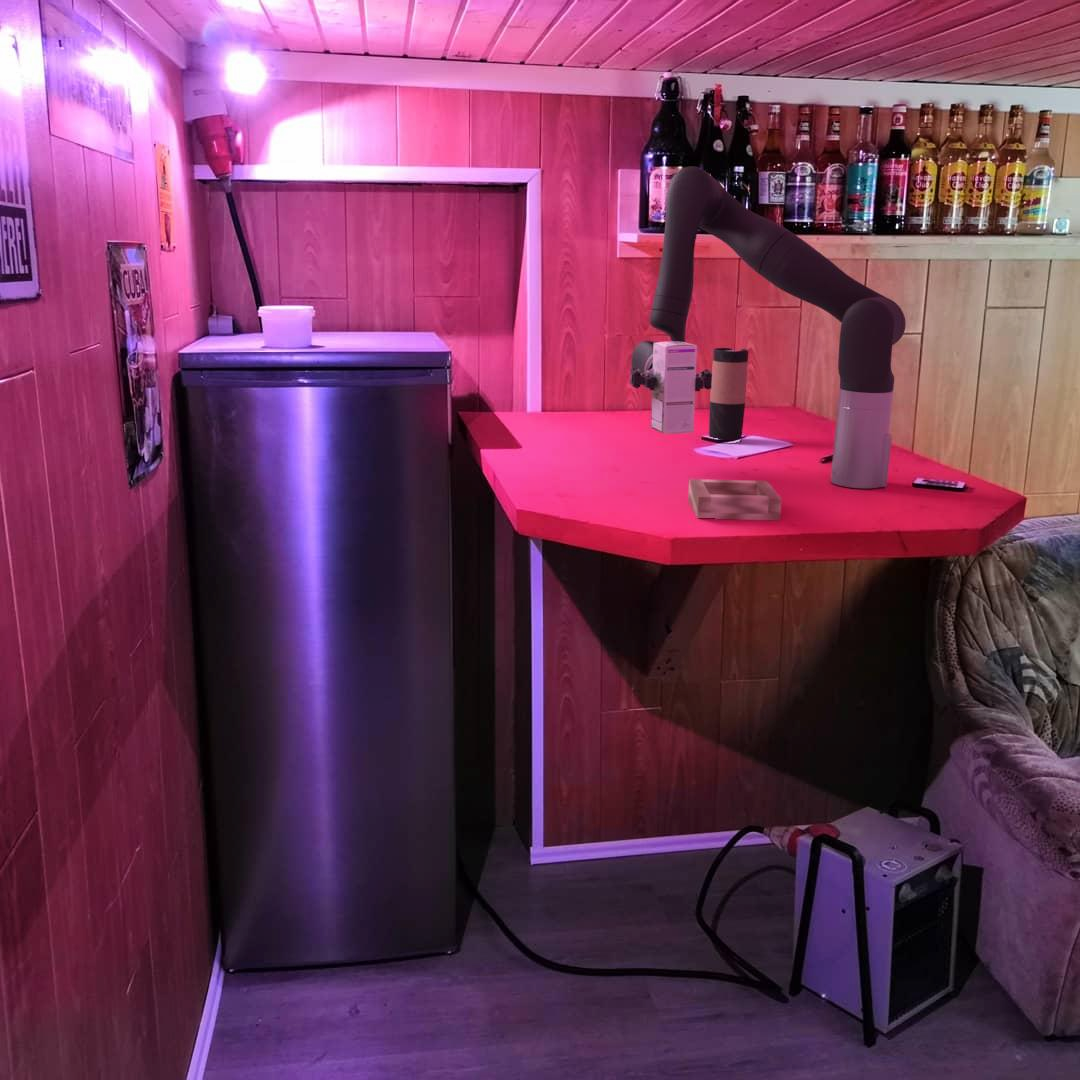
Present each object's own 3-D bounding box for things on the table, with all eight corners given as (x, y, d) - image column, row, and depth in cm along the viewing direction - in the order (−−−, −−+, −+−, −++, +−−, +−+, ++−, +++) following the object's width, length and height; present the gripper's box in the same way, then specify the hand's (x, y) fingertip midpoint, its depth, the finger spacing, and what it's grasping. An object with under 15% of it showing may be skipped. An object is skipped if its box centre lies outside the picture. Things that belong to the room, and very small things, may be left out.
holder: (765, 501, 178) (766, 480, 177) (780, 520, 166) (781, 498, 165) (688, 499, 178) (689, 479, 177) (697, 518, 166) (698, 496, 165)
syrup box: (694, 433, 174) (699, 344, 170) (661, 434, 172) (665, 344, 168) (680, 427, 179) (685, 340, 175) (648, 428, 177) (652, 341, 173)
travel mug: (716, 444, 229) (722, 351, 224) (702, 438, 236) (707, 347, 231) (748, 443, 231) (755, 351, 226) (733, 437, 238) (739, 347, 233)
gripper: (626, 349, 186) (632, 360, 170) (708, 351, 186) (721, 362, 170) (625, 392, 188) (630, 406, 172) (705, 393, 188) (718, 408, 172)
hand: (675, 384), depth 171 cm, fingers closed on syrup box, 7 cm apart
